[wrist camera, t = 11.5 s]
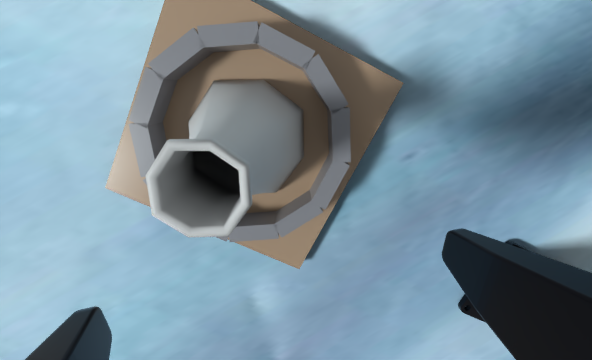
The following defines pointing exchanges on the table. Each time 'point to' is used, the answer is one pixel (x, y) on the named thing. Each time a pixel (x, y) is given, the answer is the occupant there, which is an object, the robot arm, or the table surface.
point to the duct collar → (283, 77)
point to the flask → (226, 158)
